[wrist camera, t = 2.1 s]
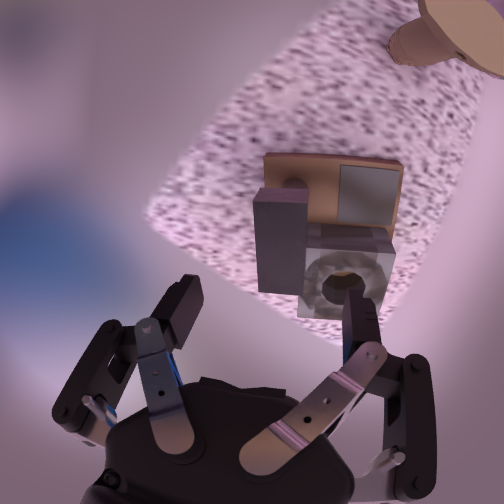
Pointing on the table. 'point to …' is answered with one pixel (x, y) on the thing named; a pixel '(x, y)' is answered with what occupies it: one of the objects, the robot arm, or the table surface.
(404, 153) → the table surface
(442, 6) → the handle
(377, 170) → the peg insertion fixture
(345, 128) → the table surface
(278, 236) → the hammer
